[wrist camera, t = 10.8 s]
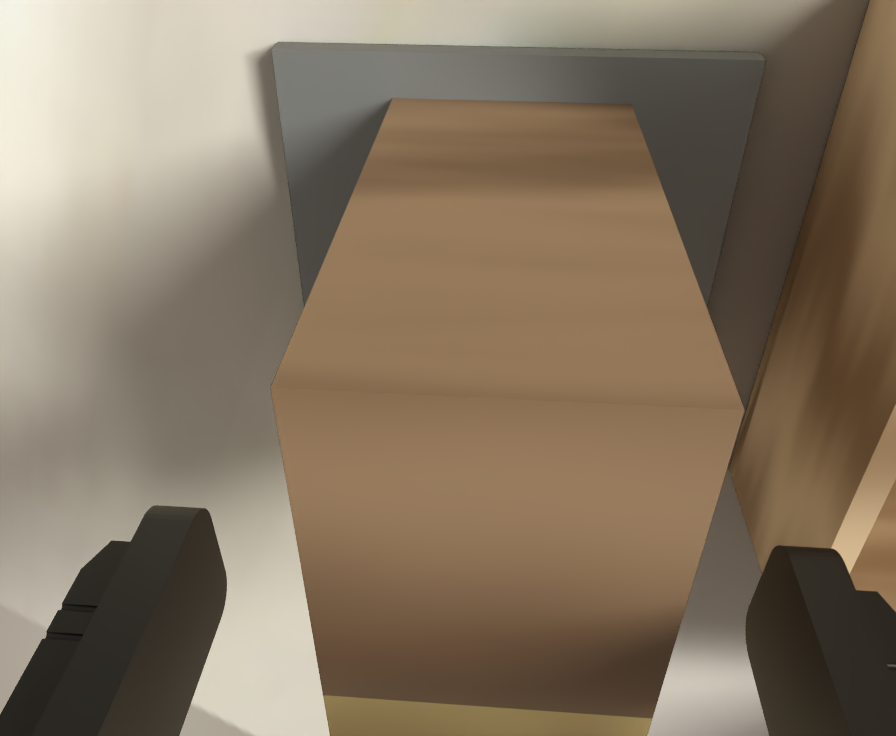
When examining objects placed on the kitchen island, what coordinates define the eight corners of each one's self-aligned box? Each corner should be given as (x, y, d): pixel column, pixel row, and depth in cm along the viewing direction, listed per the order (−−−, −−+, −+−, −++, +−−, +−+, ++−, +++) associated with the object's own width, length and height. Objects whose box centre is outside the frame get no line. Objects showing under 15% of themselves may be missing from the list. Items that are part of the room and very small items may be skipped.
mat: (278, 42, 16) (271, 49, 16) (758, 52, 16) (765, 60, 15) (322, 406, 22) (318, 419, 22) (672, 423, 22) (676, 437, 21)
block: (392, 97, 16) (270, 387, 8) (631, 104, 16) (744, 409, 8) (404, 394, 21) (334, 760, 13) (588, 402, 21) (633, 783, 13)
